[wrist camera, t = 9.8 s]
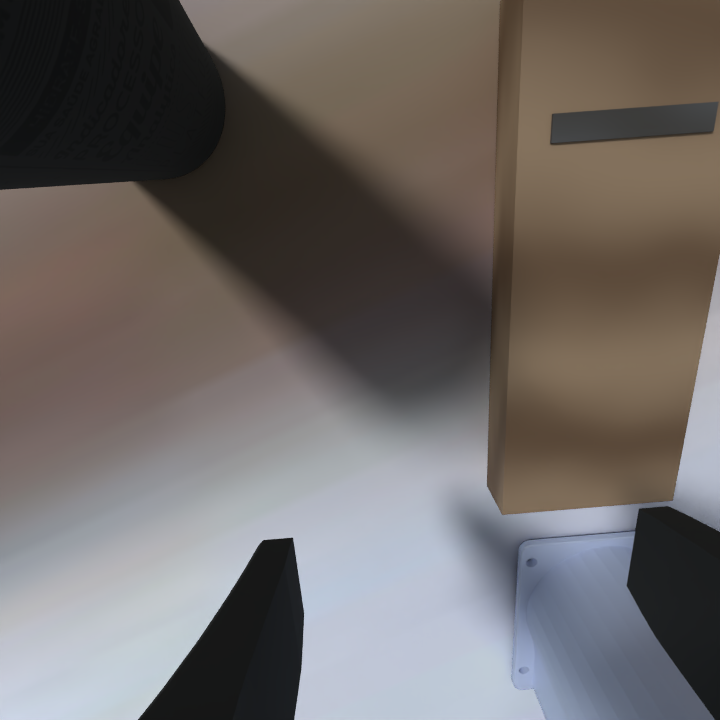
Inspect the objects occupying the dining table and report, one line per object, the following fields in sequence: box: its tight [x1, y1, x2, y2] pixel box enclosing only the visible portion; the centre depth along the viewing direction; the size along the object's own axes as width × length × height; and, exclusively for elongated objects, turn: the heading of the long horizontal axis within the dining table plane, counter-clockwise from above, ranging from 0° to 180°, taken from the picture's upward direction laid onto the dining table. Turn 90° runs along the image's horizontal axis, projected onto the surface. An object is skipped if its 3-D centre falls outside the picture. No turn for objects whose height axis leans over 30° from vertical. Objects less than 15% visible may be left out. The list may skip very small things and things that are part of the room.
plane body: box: [487, 0, 720, 515], centre depth 16 cm, size 18×7×2 cm, turn 4°
